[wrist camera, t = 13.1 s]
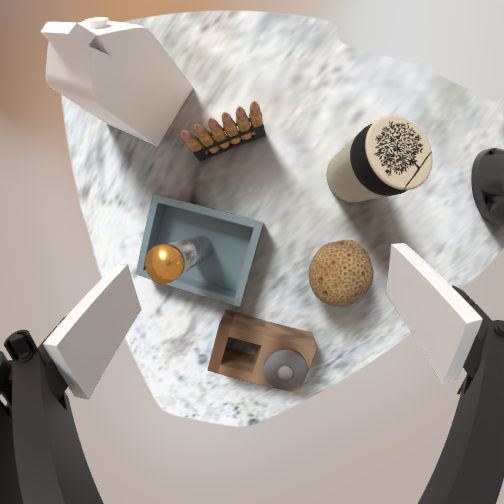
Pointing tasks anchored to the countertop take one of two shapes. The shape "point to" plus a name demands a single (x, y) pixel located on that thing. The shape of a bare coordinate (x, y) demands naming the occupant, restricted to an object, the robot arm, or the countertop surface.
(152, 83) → the milk
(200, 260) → the pin
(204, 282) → the tray
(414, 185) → the travel mug
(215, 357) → the block
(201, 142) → the ammunition clip
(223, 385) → the countertop surface
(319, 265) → the natural sponge
